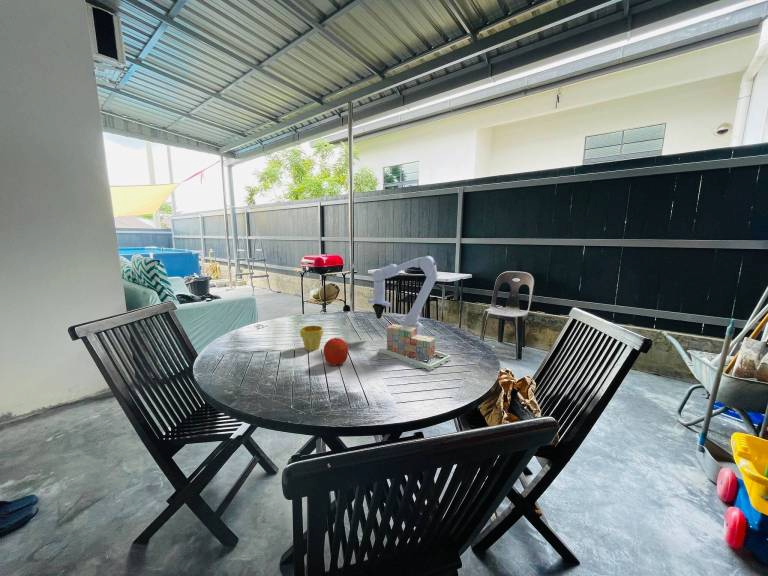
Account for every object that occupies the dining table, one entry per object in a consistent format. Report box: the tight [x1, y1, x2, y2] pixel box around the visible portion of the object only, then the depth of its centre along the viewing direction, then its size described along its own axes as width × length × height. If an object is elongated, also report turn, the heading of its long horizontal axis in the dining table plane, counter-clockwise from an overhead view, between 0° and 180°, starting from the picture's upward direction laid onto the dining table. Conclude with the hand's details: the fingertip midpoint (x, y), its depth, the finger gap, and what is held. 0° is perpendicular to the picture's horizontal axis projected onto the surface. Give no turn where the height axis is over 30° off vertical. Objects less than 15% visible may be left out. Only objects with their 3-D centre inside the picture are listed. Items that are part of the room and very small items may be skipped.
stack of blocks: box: [386, 323, 436, 361], centre depth 140 cm, size 21×6×12 cm, turn 58°
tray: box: [378, 347, 452, 371], centre depth 139 cm, size 16×29×2 cm, turn 47°
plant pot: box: [299, 324, 324, 352], centre depth 146 cm, size 10×10×10 cm
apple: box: [323, 337, 349, 366], centre depth 129 cm, size 10×10×12 cm
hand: (378, 318), depth 162 cm, fingers closed
